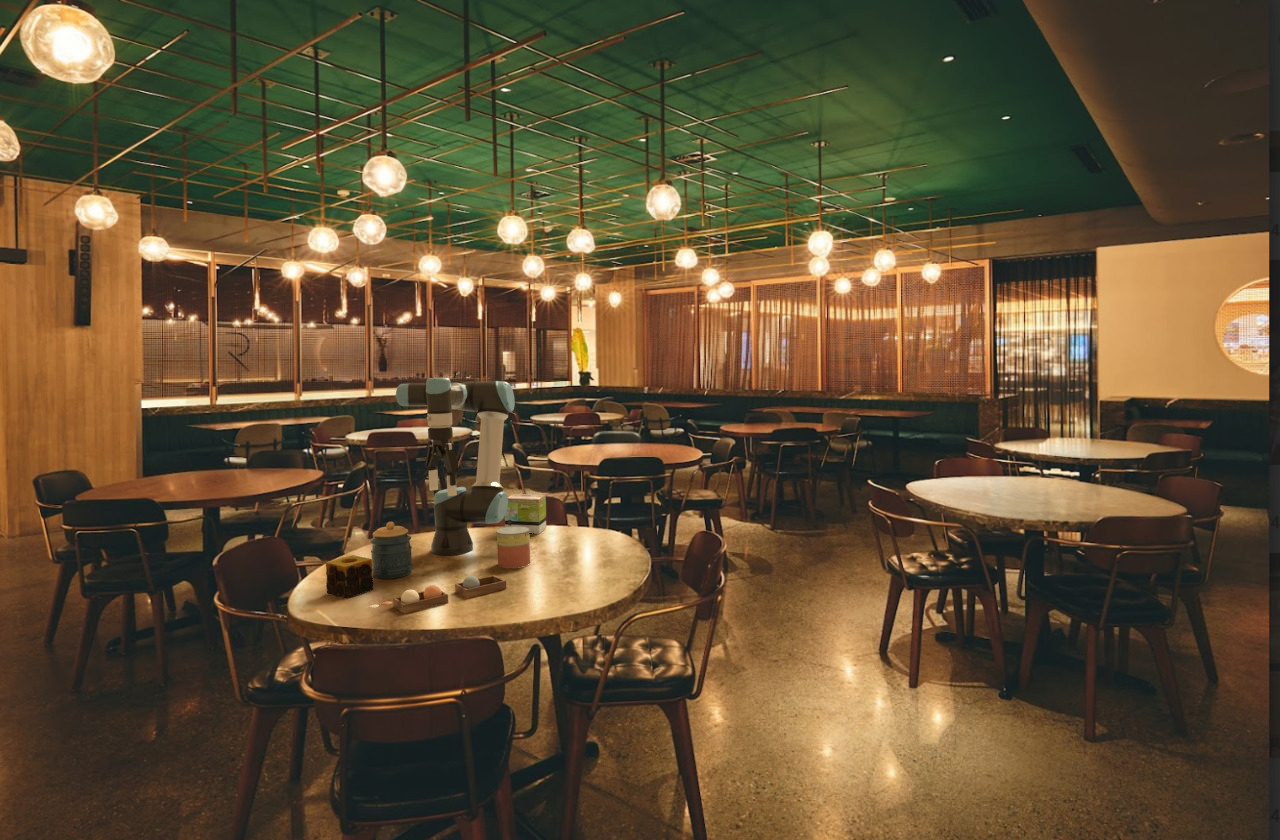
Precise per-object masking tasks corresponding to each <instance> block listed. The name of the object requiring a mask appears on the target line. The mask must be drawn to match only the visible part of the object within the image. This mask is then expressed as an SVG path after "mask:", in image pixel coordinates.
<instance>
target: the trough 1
mask: <svg viewBox="0 0 1280 840" xmlns="http://www.w3.org/2000/svg"><path fill="white" fill-rule="evenodd" d="M417 593H418V594H419V601H416V602H412V603H407V604H404V603H403V602H401V596H398V597H393V600H392V603H393V608H395V609H397V610H398V611H399V612H401V613H402V614H408V613H412V612H416V611H421V610H425V609H428V608H433V607H437V606H440V605H441V606H442V605H445V604H449V594H448V593H447V592H444V591H442V590H441V596H437V597H433V598H428V599H425V598H424V590H423V591H420V592H417Z"/></svg>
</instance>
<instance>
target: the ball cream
mask: <svg viewBox="0 0 1280 840" xmlns="http://www.w3.org/2000/svg"><path fill="white" fill-rule="evenodd" d="M418 593H419V592H417V590H414V589H407V590H405V591H404V592H402V594H401V596H400V597H401V602H403V603H404V604H407V603H412V602H416V601H419V594H418Z"/></svg>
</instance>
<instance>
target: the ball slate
mask: <svg viewBox="0 0 1280 840" xmlns="http://www.w3.org/2000/svg"><path fill="white" fill-rule="evenodd" d="M478 579H479V578H477V576H474V575H469V576H466V577H465V578H464V579H463V580H462V581H463V587H464V588H466V589H471V588H475V587H479V585H480V583H479V580H478Z"/></svg>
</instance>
